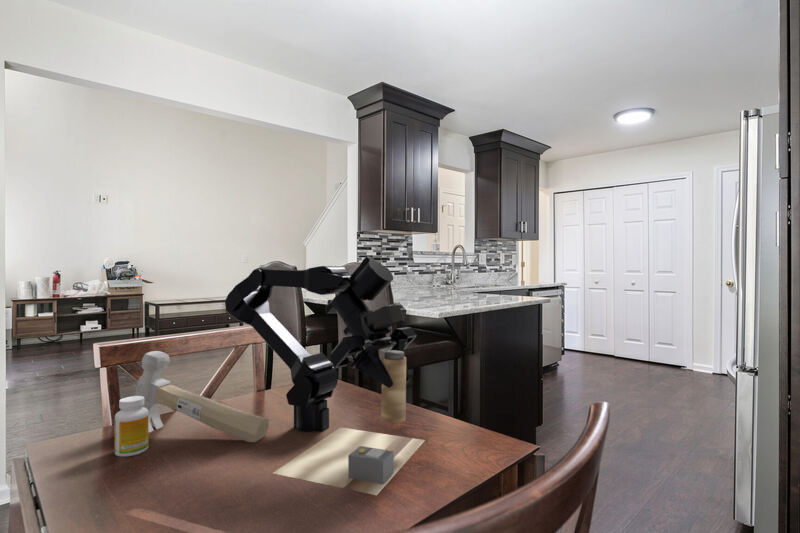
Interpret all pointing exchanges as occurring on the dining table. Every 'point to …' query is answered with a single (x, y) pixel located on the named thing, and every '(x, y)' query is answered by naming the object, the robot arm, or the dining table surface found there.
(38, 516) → the dining table surface
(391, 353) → the marker peg
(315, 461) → the plywood panel
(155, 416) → the hammer
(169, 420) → the dining table surface
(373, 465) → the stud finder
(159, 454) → the dining table surface
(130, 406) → the supplement bottle
